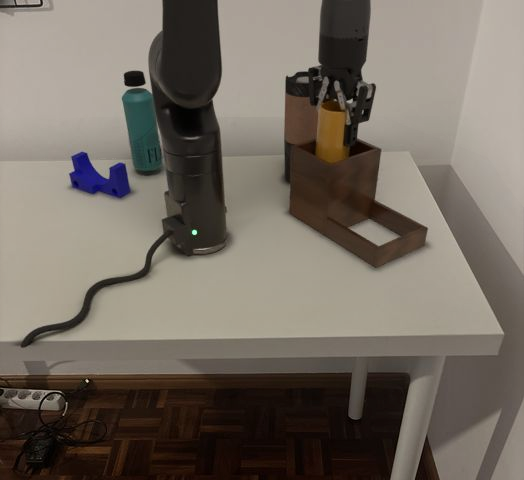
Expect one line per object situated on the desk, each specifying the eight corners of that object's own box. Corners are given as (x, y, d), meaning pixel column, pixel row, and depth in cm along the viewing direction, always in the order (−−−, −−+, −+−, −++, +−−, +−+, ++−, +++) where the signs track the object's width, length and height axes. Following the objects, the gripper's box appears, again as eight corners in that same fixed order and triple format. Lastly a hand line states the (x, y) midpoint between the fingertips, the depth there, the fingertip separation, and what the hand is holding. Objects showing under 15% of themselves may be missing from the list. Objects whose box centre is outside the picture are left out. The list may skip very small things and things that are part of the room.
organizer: (376, 268, 92) (386, 194, 84) (289, 213, 107) (290, 145, 98) (424, 245, 97) (439, 174, 89) (335, 196, 112) (340, 130, 103)
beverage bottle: (151, 180, 118) (135, 79, 105) (127, 173, 121) (109, 74, 107) (170, 169, 122) (157, 70, 109) (147, 162, 125) (132, 65, 112)
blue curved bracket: (72, 187, 116) (65, 159, 112) (88, 179, 119) (82, 151, 115) (115, 201, 111) (109, 172, 107) (130, 192, 114) (125, 163, 110)
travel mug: (321, 186, 115) (327, 83, 101) (283, 187, 115) (285, 83, 102) (319, 170, 120) (324, 70, 107) (283, 171, 121) (284, 71, 107)
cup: (329, 169, 95) (334, 115, 89) (308, 157, 99) (312, 104, 93) (355, 161, 98) (361, 108, 92) (333, 150, 101) (338, 98, 95)
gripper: (295, 24, 88) (293, 132, 99) (358, 43, 79) (348, 158, 90) (331, 17, 91) (325, 123, 102) (396, 34, 82) (381, 147, 93)
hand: (336, 139), depth 96 cm, fingers closed on cup, 6 cm apart
